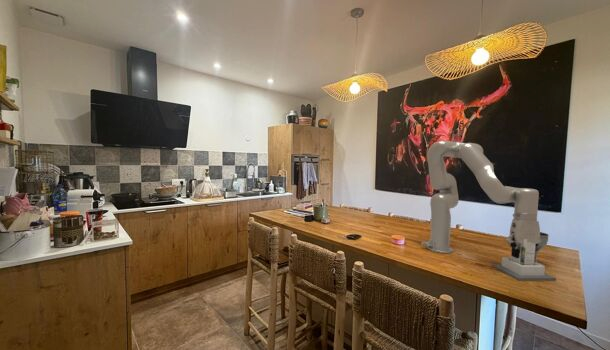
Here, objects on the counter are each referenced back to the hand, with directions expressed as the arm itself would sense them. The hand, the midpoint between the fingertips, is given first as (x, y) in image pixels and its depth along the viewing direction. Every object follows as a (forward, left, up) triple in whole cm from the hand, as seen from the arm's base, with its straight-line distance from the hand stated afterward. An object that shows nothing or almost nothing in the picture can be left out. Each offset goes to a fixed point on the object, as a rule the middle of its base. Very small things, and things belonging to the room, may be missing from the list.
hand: (522, 256), depth 109 cm
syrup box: (0, 0, -6) cm, 6 cm away
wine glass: (+16, +10, -7) cm, 20 cm away
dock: (0, 0, -7) cm, 7 cm away
